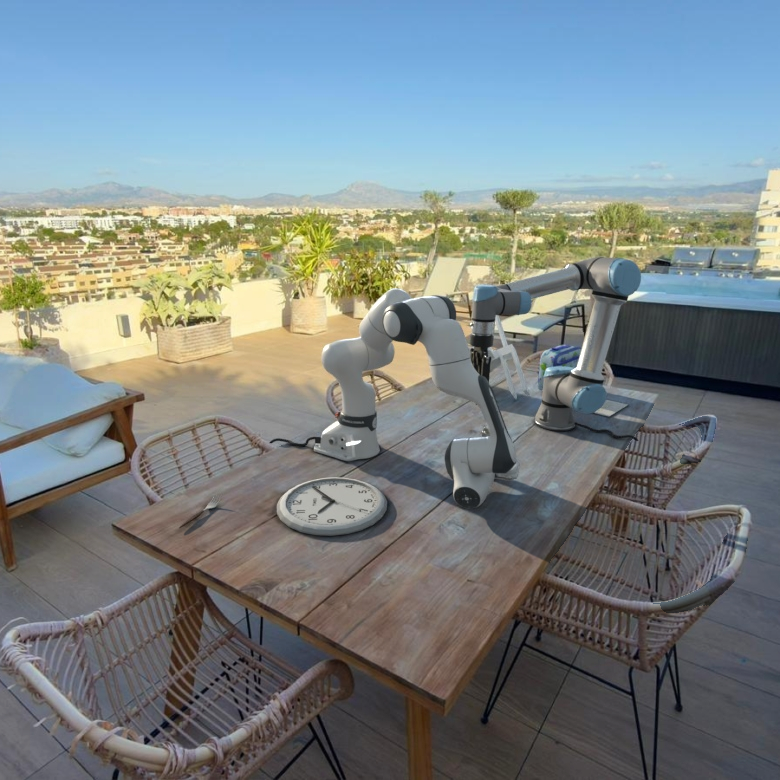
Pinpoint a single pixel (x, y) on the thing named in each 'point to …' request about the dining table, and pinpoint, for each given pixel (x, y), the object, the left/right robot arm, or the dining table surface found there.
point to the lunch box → (558, 360)
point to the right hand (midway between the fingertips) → (476, 401)
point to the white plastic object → (503, 356)
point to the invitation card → (610, 408)
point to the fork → (209, 506)
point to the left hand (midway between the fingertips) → (489, 454)
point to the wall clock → (331, 506)
